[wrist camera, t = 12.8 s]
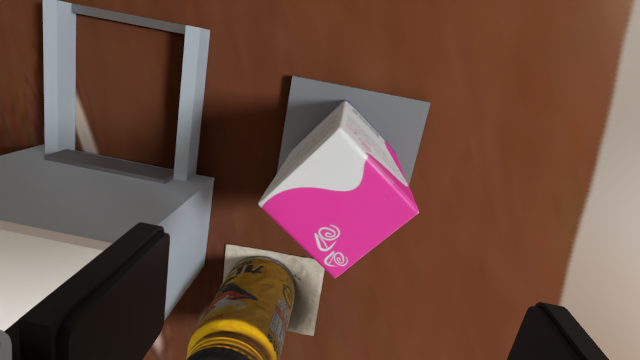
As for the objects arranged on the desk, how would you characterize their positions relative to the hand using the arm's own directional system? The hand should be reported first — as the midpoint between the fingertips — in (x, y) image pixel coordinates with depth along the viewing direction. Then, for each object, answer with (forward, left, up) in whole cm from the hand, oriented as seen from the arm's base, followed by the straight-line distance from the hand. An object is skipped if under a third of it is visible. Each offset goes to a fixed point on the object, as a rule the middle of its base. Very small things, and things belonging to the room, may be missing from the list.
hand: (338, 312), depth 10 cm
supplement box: (0, 0, -21) cm, 21 cm away
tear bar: (-6, -17, -21) cm, 28 cm away
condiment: (+14, -4, -22) cm, 26 cm away
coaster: (+1, 0, -21) cm, 21 cm away
